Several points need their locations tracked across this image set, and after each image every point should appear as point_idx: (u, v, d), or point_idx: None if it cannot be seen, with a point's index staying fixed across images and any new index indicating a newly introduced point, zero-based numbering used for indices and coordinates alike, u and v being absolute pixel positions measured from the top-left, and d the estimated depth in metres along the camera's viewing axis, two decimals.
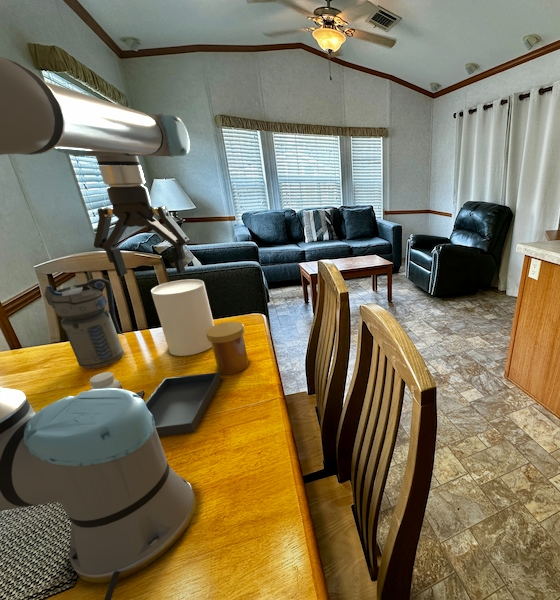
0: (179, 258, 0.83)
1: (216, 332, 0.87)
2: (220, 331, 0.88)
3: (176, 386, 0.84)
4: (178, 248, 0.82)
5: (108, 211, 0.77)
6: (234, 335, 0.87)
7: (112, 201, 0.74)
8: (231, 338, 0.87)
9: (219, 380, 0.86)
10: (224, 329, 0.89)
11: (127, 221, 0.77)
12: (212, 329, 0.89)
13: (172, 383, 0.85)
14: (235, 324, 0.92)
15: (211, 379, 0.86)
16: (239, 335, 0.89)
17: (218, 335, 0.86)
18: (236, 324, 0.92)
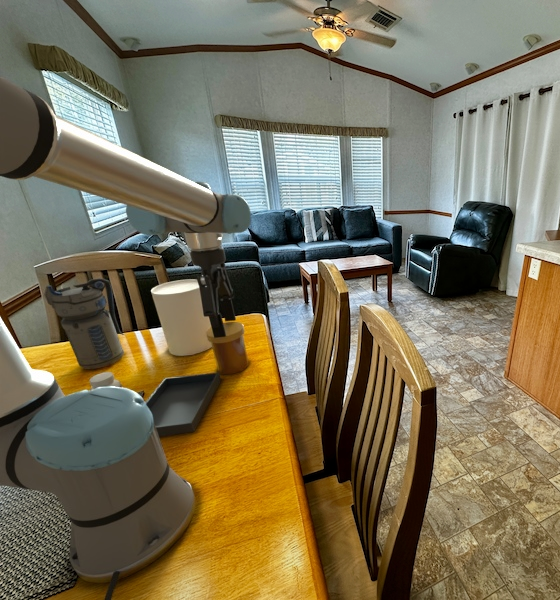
0: None
1: None
2: None
3: (176, 386, 0.84)
4: None
5: None
6: (234, 336, 0.87)
7: None
8: (231, 338, 0.87)
9: (219, 380, 0.86)
10: None
11: None
12: None
13: (172, 383, 0.85)
14: (235, 324, 0.92)
15: (211, 379, 0.86)
16: (239, 335, 0.89)
17: None
18: (236, 324, 0.92)
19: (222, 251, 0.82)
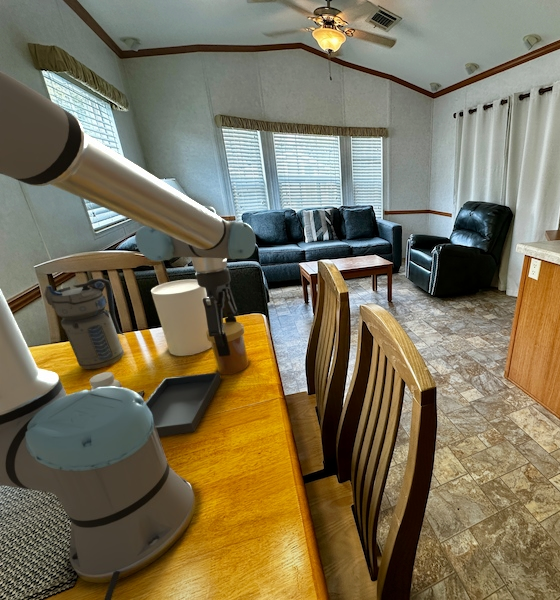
0: None
1: None
2: None
3: (176, 386, 0.84)
4: None
5: None
6: (232, 336, 0.87)
7: None
8: (230, 338, 0.87)
9: (219, 380, 0.86)
10: (224, 329, 0.89)
11: None
12: None
13: (172, 383, 0.85)
14: (235, 324, 0.92)
15: (211, 379, 0.86)
16: (238, 335, 0.88)
17: None
18: (236, 324, 0.92)
19: (227, 272, 0.84)
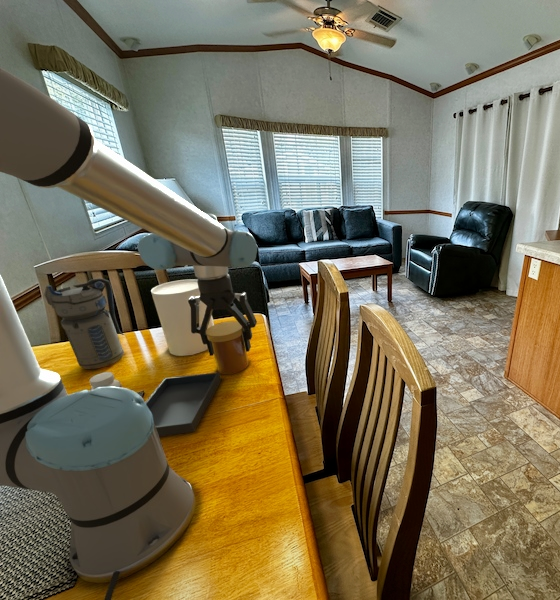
0: (248, 338, 0.92)
1: (230, 330, 0.88)
2: (229, 329, 0.89)
3: (176, 386, 0.84)
4: None
5: (196, 299, 0.85)
6: None
7: (203, 292, 0.82)
8: None
9: (219, 380, 0.86)
10: (226, 328, 0.89)
11: (212, 306, 0.86)
12: (219, 333, 0.86)
13: (172, 383, 0.85)
14: (218, 325, 0.91)
15: (211, 379, 0.86)
16: None
17: (239, 327, 0.89)
18: (218, 325, 0.91)
19: None
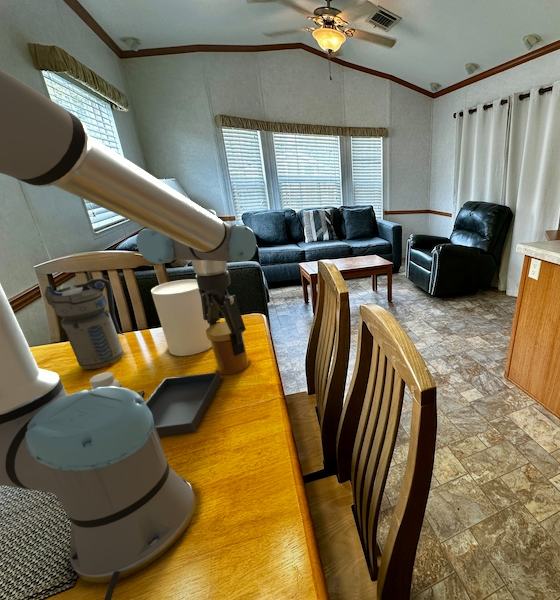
0: (236, 343, 0.87)
1: None
2: None
3: (176, 386, 0.84)
4: (234, 334, 0.86)
5: (205, 290, 0.88)
6: None
7: None
8: None
9: (219, 380, 0.86)
10: (226, 327, 0.89)
11: (211, 300, 0.86)
12: (230, 331, 0.87)
13: (172, 383, 0.85)
14: (212, 329, 0.88)
15: (211, 379, 0.86)
16: None
17: None
18: (212, 328, 0.89)
19: None
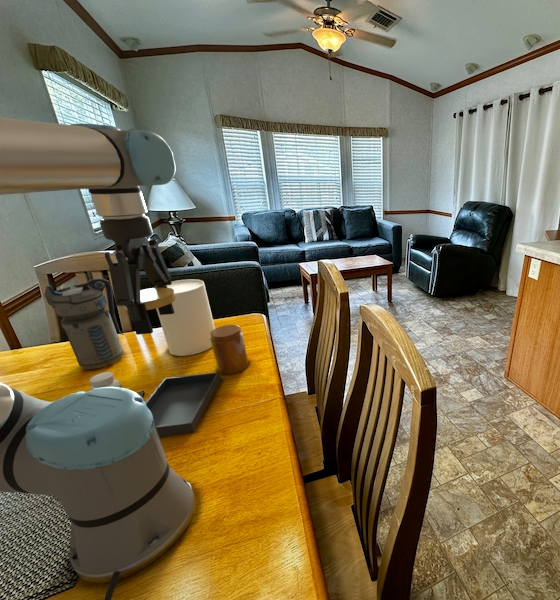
0: None
1: (142, 292, 0.69)
2: (142, 293, 0.69)
3: (176, 386, 0.84)
4: None
5: None
6: None
7: (141, 234, 0.62)
8: None
9: (219, 380, 0.86)
10: (146, 294, 0.68)
11: None
12: (157, 289, 0.71)
13: (172, 383, 0.85)
14: (155, 297, 0.67)
15: (211, 379, 0.86)
16: None
17: None
18: (154, 297, 0.66)
19: None
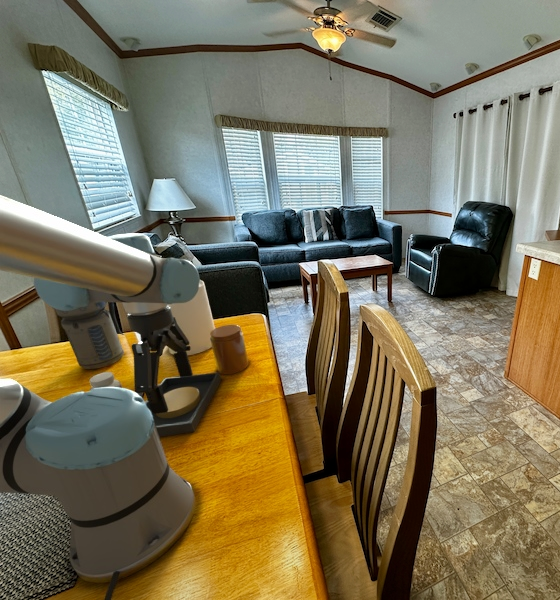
0: None
1: (171, 395, 0.78)
2: (171, 397, 0.77)
3: (176, 386, 0.84)
4: (184, 351, 0.81)
5: None
6: None
7: (164, 325, 0.68)
8: None
9: (219, 380, 0.86)
10: (175, 398, 0.77)
11: None
12: (184, 390, 0.80)
13: (172, 383, 0.85)
14: (184, 403, 0.75)
15: (211, 379, 0.86)
16: (159, 416, 0.73)
17: None
18: (183, 403, 0.75)
19: None
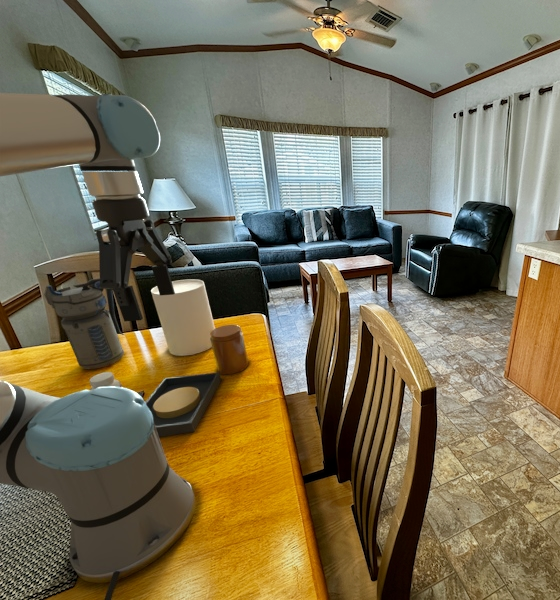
0: None
1: (171, 395, 0.78)
2: (171, 397, 0.77)
3: (176, 386, 0.84)
4: (165, 266, 0.71)
5: None
6: (155, 411, 0.74)
7: (137, 216, 0.58)
8: None
9: (219, 380, 0.86)
10: (175, 398, 0.77)
11: None
12: (184, 390, 0.80)
13: (172, 383, 0.85)
14: (184, 403, 0.75)
15: (211, 379, 0.86)
16: (159, 416, 0.73)
17: (160, 399, 0.77)
18: (183, 403, 0.75)
19: None
